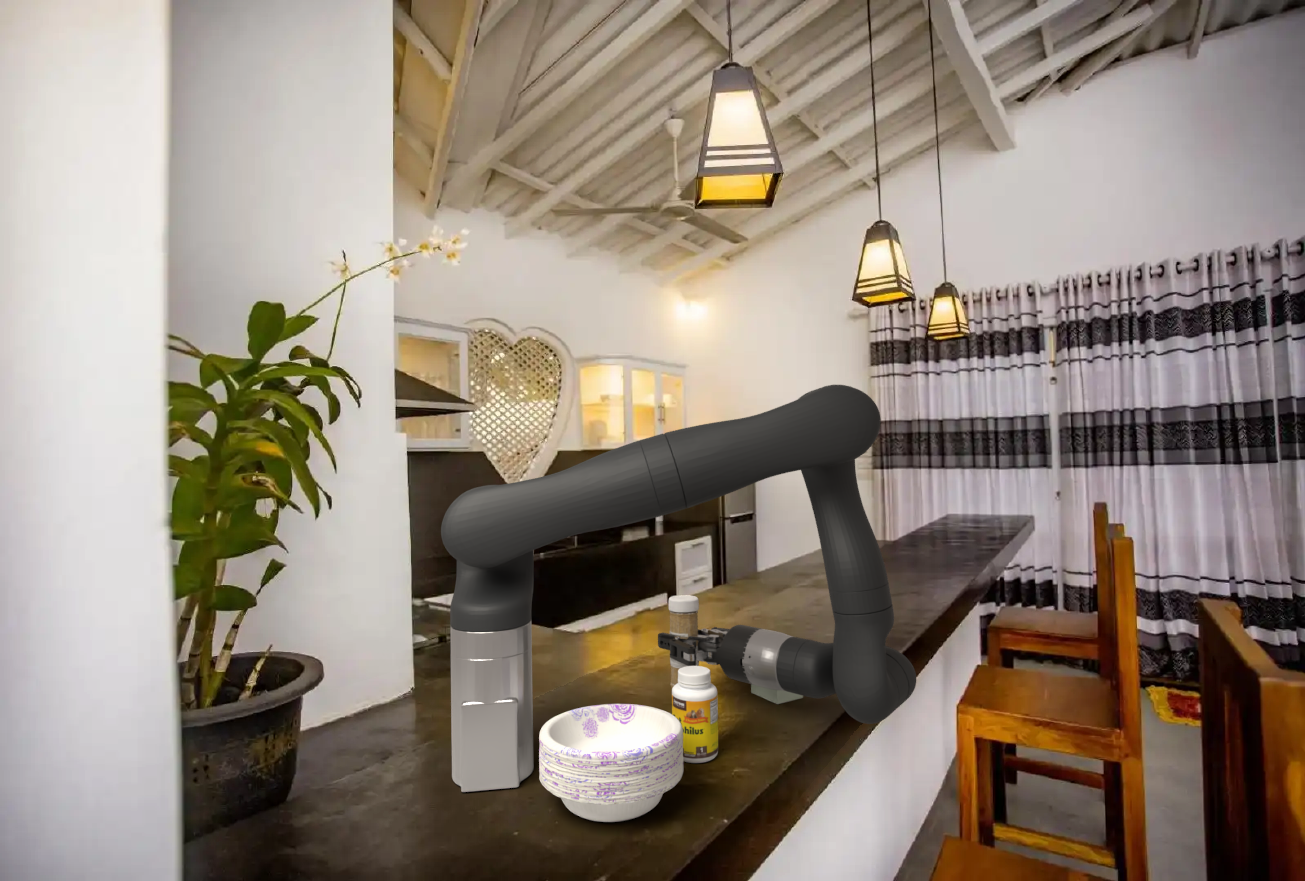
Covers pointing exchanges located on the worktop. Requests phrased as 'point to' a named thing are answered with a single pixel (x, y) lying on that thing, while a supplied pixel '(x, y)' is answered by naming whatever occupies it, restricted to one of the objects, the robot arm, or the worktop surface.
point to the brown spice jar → (682, 625)
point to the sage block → (774, 694)
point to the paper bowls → (611, 759)
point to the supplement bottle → (696, 713)
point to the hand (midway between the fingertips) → (670, 636)
